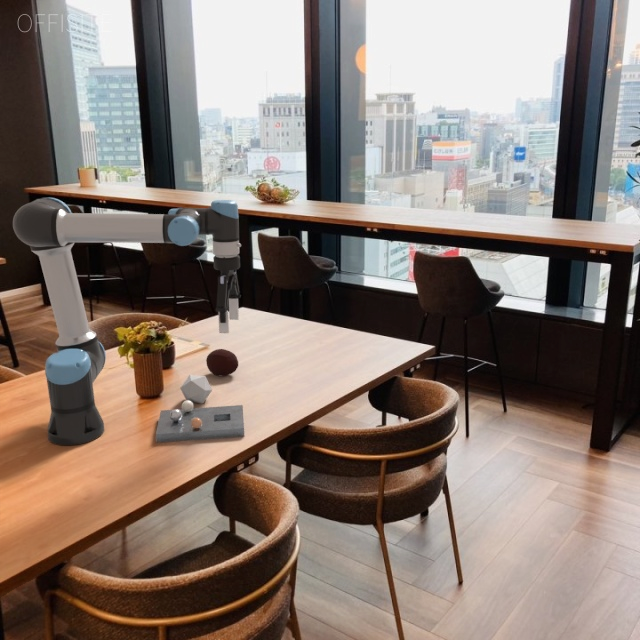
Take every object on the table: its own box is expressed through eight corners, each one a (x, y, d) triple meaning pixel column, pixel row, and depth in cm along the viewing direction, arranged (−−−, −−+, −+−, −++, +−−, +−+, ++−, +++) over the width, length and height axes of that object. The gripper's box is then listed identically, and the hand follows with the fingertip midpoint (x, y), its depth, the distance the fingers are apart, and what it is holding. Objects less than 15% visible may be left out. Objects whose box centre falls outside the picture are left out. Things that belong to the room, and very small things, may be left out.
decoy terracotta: (191, 430, 191) (190, 420, 190) (191, 426, 194) (190, 416, 193) (202, 430, 191) (201, 420, 190) (202, 425, 194) (201, 415, 193)
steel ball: (169, 423, 195) (168, 412, 194) (170, 418, 198) (169, 407, 197) (181, 422, 196) (181, 411, 195) (182, 417, 199) (181, 407, 198)
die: (217, 399, 220) (204, 370, 222) (213, 396, 211) (200, 366, 213) (192, 410, 219) (179, 382, 221) (187, 408, 210) (174, 378, 212)
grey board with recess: (156, 442, 190) (155, 434, 189) (161, 418, 205) (160, 410, 204) (244, 436, 192) (244, 428, 192) (242, 412, 208) (242, 405, 207)
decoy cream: (181, 414, 201) (180, 403, 200) (182, 409, 205) (181, 398, 204) (193, 413, 202) (192, 402, 201) (194, 408, 205) (193, 398, 204)
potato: (215, 368, 244) (213, 343, 241) (244, 373, 239) (243, 347, 237) (201, 377, 236) (199, 351, 234) (231, 382, 232) (229, 355, 229)
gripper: (230, 264, 186) (232, 339, 192) (247, 247, 210) (249, 314, 216) (202, 263, 187) (206, 338, 193) (223, 246, 210) (226, 313, 216)
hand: (229, 326), depth 204 cm, fingers open, 13 cm apart
